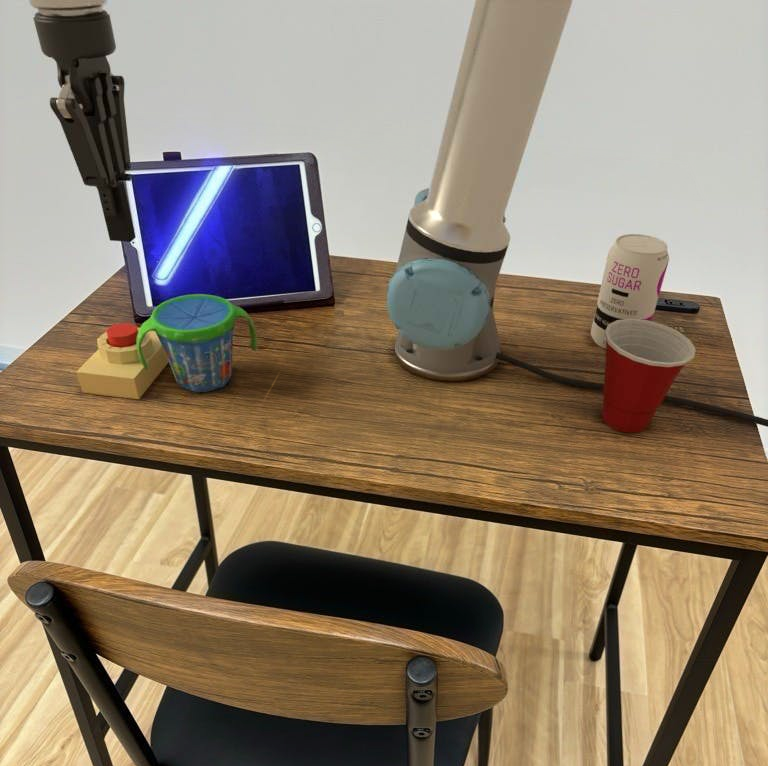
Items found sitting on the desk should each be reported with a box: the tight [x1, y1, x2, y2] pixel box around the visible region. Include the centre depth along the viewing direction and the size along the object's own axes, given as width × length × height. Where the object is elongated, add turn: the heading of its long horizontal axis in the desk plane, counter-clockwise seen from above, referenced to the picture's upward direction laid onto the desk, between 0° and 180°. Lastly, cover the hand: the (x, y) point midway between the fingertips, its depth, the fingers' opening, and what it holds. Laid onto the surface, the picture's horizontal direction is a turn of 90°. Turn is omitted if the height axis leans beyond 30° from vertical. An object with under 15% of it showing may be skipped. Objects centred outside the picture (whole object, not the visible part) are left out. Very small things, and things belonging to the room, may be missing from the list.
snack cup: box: [137, 293, 259, 393], centre depth 98 cm, size 16×10×10 cm
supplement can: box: [590, 233, 670, 350], centre depth 107 cm, size 8×8×15 cm
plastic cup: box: [602, 319, 697, 434], centre depth 92 cm, size 11×11×12 cm
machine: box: [76, 327, 169, 400], centre depth 101 cm, size 13×8×5 cm, turn 170°
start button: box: [106, 322, 139, 348], centre depth 99 cm, size 4×4×2 cm
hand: (122, 238), depth 91 cm, fingers closed
